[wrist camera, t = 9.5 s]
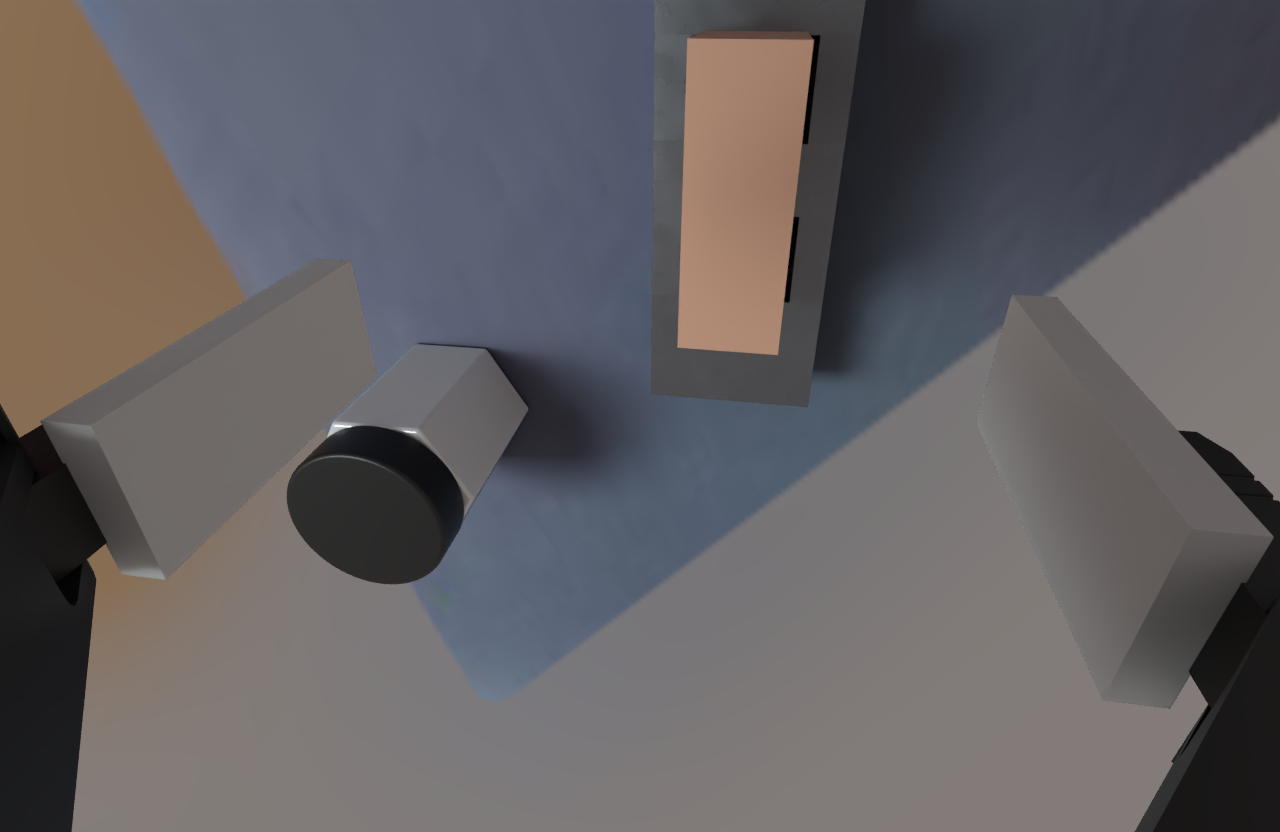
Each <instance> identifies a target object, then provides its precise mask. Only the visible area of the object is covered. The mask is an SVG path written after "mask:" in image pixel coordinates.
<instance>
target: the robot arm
mask: <svg viewBox="0 0 1280 832" xmlns="http://www.w3.org/2000/svg"><path fill="white" fill-rule="evenodd" d="M376 377H377V374H376V370H375V365H374V361H373V357H372V352H371V348H370V343H369V339H368V335H367V330H366V326H365V322H364V317H363V313H362V308H361V304H360V300H359V295H358V291H357V287H356V282H355V278H354V273H353V269H352V265H351V261H349V260H330V259H316V260H314V261H313V262H311V263H309V264H308V265H306V266H304V267H302V268H301V269H299V270H297V271H296V272H294V273H292V274H290V275H289V276H287V277H285V278H284V279H282V280H280V281H278V282H277V283H275V284H273V285H272V286H270V287H268V288H267V289H265V290H263V291H261V292H260V293H258V294H256V295H255V296H253V297H251V298H249V299H248V300H246V301H244V302H243V303H241V304H239V305H237V306H236V307H234V308H232V309H231V310H229V311H227V312H226V313H224V314H222V315H220V316H219V317H217V318H215V319H214V320H212V321H210V322H208V323H207V324H205V325H203V326H202V327H200V328H198V329H197V330H195V331H193V332H191V333H190V334H188V335H186V336H185V337H183V338H181V339H180V340H178V341H176V342H174V343H173V344H171V345H169V346H167V347H166V348H164V349H162V350H161V351H159V352H157V353H155V354H154V355H152V356H150V357H149V358H147V359H145V360H144V361H142V362H140V363H139V364H137V365H135V366H133V367H132V368H130V369H128V370H127V371H125V372H123V373H121V374H120V375H118V376H117V377H114V378H113V379H111V380H109V381H108V382H106V383H104V384H103V385H101V386H99V387H98V388H96V389H94V390H92V391H91V392H89V393H87V394H86V395H84V396H82V397H80V398H79V399H77V400H75V401H74V402H72V403H70V404H68V405H67V406H65V407H63V408H62V409H60V410H58V411H57V412H55V413H53V414H51V415H50V416H48V417H46V418H44V419H43V420H41V423H42V425H41V426H39V427H37V428H36V429H34V430H32V431H31V432H29V433H27V434H25V435H24V436H22V437H20V438H19V437H18V435H17V433H16V431H15V430H14V428H13V426H12V424H11V423H10V421H9V419H8V417H7V415H6V414H5V412H4V410H3V408H2V406H1V404H0V832H71V830H72V821H73V810H74V800H75V790H76V780H77V769H78V759H79V749H80V739H81V729H82V718H83V709H84V699H85V689H86V678H87V667H88V657H89V647H90V638H91V627H92V618H93V606H94V596H95V587H96V578H95V575H94V571H93V570H92V568H91V566H90V564H89V562H88V561H87V558H89V557H90V556H91V555H92V554H93V553H95V552H96V551H97V550H99V548H101V547H102V546H103V545H105V544H106V545H107V547H108V549H109V551H110V553H111V555H112V557H113V559H114V560H115V562H116V564H117V566H118V568H119V570H120V572H121V574H125V575H134V576H141V577H149V578H156V579H164V580H166V579H167V578H168V577H169V576H170V575H171V574H172V573H173V572H175V570H177V569H178V568H179V567H180V566H181V565H182V564H183V563H184V562H185V561H186V560H187V559H188V558H189V557H190V556H191V555H192V554H193V553H194V552H195V551H196V550H197V549H198V548H199V547H200V546H201V545H202V544H204V542H206V540H207V539H209V538H210V537H211V536H212V535H213V534H214V533H215V532H216V531H217V530H218V529H219V528H220V527H221V526H222V525H223V524H224V523H225V522H226V521H227V520H228V519H229V518H230V517H231V516H233V515H234V514H235V513H236V512H237V511H238V510H239V509H240V508H241V507H242V506H243V505H244V504H245V503H246V502H247V501H248V500H249V499H250V498H251V497H252V496H253V495H254V494H255V493H256V492H257V491H258V490H259V489H260V488H261V487H263V486H264V485H265V484H266V483H267V482H268V481H269V480H270V479H271V478H272V477H273V476H274V475H275V474H276V473H277V472H278V471H279V470H280V469H281V468H282V467H283V466H284V465H285V464H286V463H287V462H288V461H290V460H291V459H292V458H293V457H294V455H296V454H297V453H298V452H299V451H300V450H301V449H302V448H303V447H304V446H305V445H306V444H307V443H308V442H309V441H310V440H311V439H312V438H313V437H314V436H315V435H316V434H317V433H319V432H320V431H321V430H322V429H323V428H324V427H325V426H326V425H327V424H328V423H329V422H330V421H331V420H332V419H333V418H334V417H335V416H336V415H337V414H338V413H339V412H340V411H341V410H342V409H343V408H344V407H345V406H346V405H348V404H349V403H350V402H351V401H352V400H353V399H354V398H355V397H356V396H357V395H358V394H359V393H360V392H361V391H362V390H363V389H364V388H365V387H366V386H367V385H368V384H369V383H370V382H371V381H372V380H373V379H374V378H376ZM976 424H977V426H978V428H979V430H980V433H981V435H982V437H983V439H984V442H985V443H986V446H987V448H988V450H989V452H990V455H991V457H992V459H993V461H994V463H995V465H996V468H997V470H998V472H999V474H1000V476H1001V478H1002V481H1003V483H1004V485H1005V488H1006V490H1007V492H1008V494H1009V496H1010V498H1011V501H1012V503H1013V505H1014V507H1015V509H1016V512H1017V514H1018V516H1019V518H1020V520H1021V523H1022V525H1023V527H1024V529H1025V531H1026V533H1027V536H1028V538H1029V540H1030V542H1031V544H1032V547H1033V549H1034V551H1035V553H1036V555H1037V557H1038V560H1039V562H1040V564H1041V566H1042V569H1043V570H1044V573H1045V575H1046V577H1047V579H1048V581H1049V584H1050V586H1051V588H1052V590H1053V592H1054V594H1055V597H1056V599H1057V601H1058V604H1059V606H1060V608H1061V610H1062V612H1063V614H1064V617H1065V619H1066V621H1067V623H1068V625H1069V628H1070V630H1071V632H1072V634H1073V636H1074V639H1075V641H1076V643H1077V645H1078V647H1079V649H1080V652H1081V654H1082V656H1083V658H1084V660H1085V662H1086V665H1087V667H1088V669H1089V671H1090V674H1091V676H1092V678H1093V680H1094V682H1095V685H1096V687H1097V689H1098V691H1099V693H1100V695H1101V698H1102V700H1106V701H1114V702H1122V703H1130V704H1138V705H1145V706H1153V707H1161V708H1168V709H1170V708H1171V706H1172V705H1173V703H1174V701H1175V700H1176V698H1177V696H1178V695H1179V693H1180V691H1181V690H1182V688H1183V687H1184V685H1185V683H1186V682H1187V680H1188V678H1189V677H1190V675H1191V676H1192V678H1193V680H1194V681H1195V683H1196V685H1197V686H1198V688H1199V690H1200V691H1201V693H1202V695H1203V696H1204V698H1205V700H1206V701H1207V703H1208V706H1207V707H1206V709H1205V710H1204V712H1203V713H1202V715H1201V716H1200V718H1199V720H1198V721H1197V723H1196V724H1195V726H1194V727H1193V729H1192V730H1191V732H1190V734H1189V735H1188V736H1187V738H1186V740H1185V741H1184V743H1183V745H1182V746H1181V747H1180V749H1179V750H1178V752H1177V754H1176V755H1175V757H1174V758H1173V760H1172V762H1173V765H1172V767H1171V769H1170V770H1169V772H1168V774H1167V776H1166V777H1165V779H1164V781H1163V783H1162V785H1161V786H1160V788H1159V790H1158V791H1157V793H1156V795H1155V797H1154V799H1153V800H1152V802H1151V804H1150V806H1149V807H1148V809H1147V811H1146V813H1145V815H1144V816H1143V818H1142V820H1141V822H1140V823H1139V825H1138V827H1137V829H1136V831H1135V832H1280V502H1279V501H1276V500H1273V495H1272V494H1271V493H1270V492H1269V491H1268V490H1267V489H1266V487H1264V485H1263V484H1261V482H1260V481H1254V475H1253V474H1252V473H1251V472H1250V471H1249V470H1248V469H1247V468H1246V467H1245V466H1244V465H1243V464H1242V463H1241V462H1240V461H1239V460H1238V459H1237V458H1236V457H1235V456H1234V455H1233V454H1232V453H1231V452H1229V451H1227V450H1226V449H1224V448H1222V447H1221V446H1219V445H1217V444H1216V443H1214V442H1212V441H1211V440H1209V439H1207V438H1205V437H1204V436H1202V435H1201V434H1199V433H1197V432H1190V431H1177V429H1176V428H1174V426H1173V425H1172V424H1171V423H1170V422H1169V421H1168V419H1166V417H1165V416H1164V415H1163V414H1162V413H1161V412H1160V411H1159V410H1158V409H1157V407H1156V406H1155V405H1154V404H1153V403H1152V402H1151V401H1150V400H1149V399H1148V398H1147V396H1146V395H1145V394H1144V393H1143V392H1142V391H1141V390H1140V389H1139V387H1138V386H1137V385H1136V384H1135V383H1134V382H1133V381H1132V380H1131V379H1130V378H1129V376H1127V374H1126V373H1125V372H1124V371H1123V370H1122V369H1121V368H1120V366H1119V365H1118V364H1117V363H1116V362H1115V361H1114V360H1113V359H1112V358H1111V357H1110V355H1109V354H1108V353H1107V352H1106V351H1105V350H1104V349H1103V348H1102V347H1101V345H1100V344H1099V343H1098V342H1097V341H1096V340H1095V339H1094V338H1093V337H1092V336H1091V335H1090V334H1089V332H1088V331H1087V330H1086V329H1085V328H1084V327H1083V326H1082V325H1081V323H1080V322H1079V321H1078V320H1077V319H1076V318H1075V317H1074V316H1073V315H1072V313H1070V311H1069V310H1068V309H1067V308H1066V307H1065V306H1064V305H1063V304H1062V302H1061V301H1060V300H1059V299H1058V298H1057V297H1045V296H1026V295H1012V297H1011V300H1010V304H1009V307H1008V311H1007V314H1006V318H1005V321H1004V325H1003V328H1002V332H1001V335H1000V339H999V342H998V346H997V350H996V353H995V356H994V360H993V363H992V367H991V370H990V374H989V378H988V381H987V384H986V388H985V392H984V395H983V398H982V402H981V406H980V409H979V412H978V416H977V420H976Z"/></svg>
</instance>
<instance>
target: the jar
mask: <svg viewBox="0 0 1280 832" xmlns="http://www.w3.org/2000/svg"><path fill="white" fill-rule="evenodd" d="M527 412H528V407H527V405H526V404H525V403H524V401H523V400H522V398H521V397H520V396H519V394H518V393H517V391H516V390H515V389H514V387H513V386H512V384H511V383H510V382H509V380H508V379H507V377H506V376H505V375H504V373H503V372H502V370H501V369H500V368H499V366H498V365H497V363H496V362H495V360H494V359H493V358H492V356H491V355H490V353H489V352H488V351H487V350H486V349H482V348H467V347H453V346H438V345H423V344H415V345H413V346H412V347H411V348H410V349H409V350H408V351H407V352H406V353H405V354H404V355H403V356H402V357H401V358H400V359H399V360H398V361H397V362H396V363H394V364H393V365H392V366H391V367H390V368H389V369H388V370H387V371H386V372H385V373H384V374H383V375H382V376H381V377H380V378H379V379H378V380H377V381H376V382H375V383H373V384H372V385H371V386H370V387H369V388H368V389H367V390H366V391H365V392H364V393H363V394H362V395H361V396H360V397H359V398H358V399H357V400H356V401H355V402H354V403H352V404H351V405H350V406H349V407H348V408H347V409H346V410H345V411H344V412H343V413H342V414H341V415H340V416H339V417H338V418H337V419H336V420H335V421H334V422H333V423H332V425H331V428H330V431H329V433H328V436H327V439H326V440H325V441H324V442H323V443H321V445H319V446H318V447H317V448H316V449H315V450H314V451H313V452H312V453H311V454H310V455H309V456H308V457H307V458H306V459H305V460H304V461H303V462H302V463H301V464H300V465H299V466H298V467H297V468H296V470H295V471H294V472H293V474H292V476H291V478H290V480H289V484H288V488H287V504H288V510H289V513H290V516H291V519H292V521H293V523H294V525H295V527H296V529H297V530H298V532H299V533H300V535H301V536H302V538H303V539H304V540H305V542H306V543H307V544H308V545H309V546H310V547H311V548H312V549H313V550H314V551H315V552H316V553H317V554H318V555H319V556H321V557H322V558H323V559H324V560H326V561H327V562H329V563H330V564H331V565H333V566H335V567H336V568H338V569H340V570H341V571H343V572H345V573H347V574H350V575H352V576H354V577H357V578H360V579H363V580H366V581H370V582H375V583H381V584H402V583H409V582H412V581H416V580H418V579H421V578H423V577H425V576H426V575H428V574H429V573H431V572H432V571H433V570H434V569H435V568H436V567H437V566H438V565H439V563H440V562H441V560H442V558H443V557H444V555H445V553H446V552H447V550H448V548H449V547H450V545H451V543H452V542H453V540H454V538H455V537H456V535H457V533H458V532H459V530H460V528H461V525H462V522H463V521H464V519H465V517H466V516H467V514H468V512H469V511H470V509H471V507H472V506H473V504H474V502H475V501H476V499H477V497H478V496H479V494H480V492H481V491H482V489H483V487H484V486H485V484H486V482H487V481H488V479H489V477H490V476H491V474H492V473H493V471H494V469H495V468H496V466H497V464H498V463H499V461H500V459H501V458H502V456H503V454H504V452H505V451H506V449H507V447H508V445H509V444H510V442H511V440H512V438H513V437H514V435H515V433H516V431H517V430H518V428H519V426H520V424H521V422H522V421H523V419H524V417H525V415H526V414H527Z"/></svg>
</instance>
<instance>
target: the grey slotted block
mask: <svg viewBox="0 0 1280 832" xmlns="http://www.w3.org/2000/svg"><path fill="white" fill-rule="evenodd" d="M865 1H866V0H655V46H654V153H653V260H652V367H651V394H657V395H669V396H681V397H693V398H705V399H717V400H729V401H741V402H753V403H765V404H777V405H789V406H801V407H808V402H809V395H810V388H811V381H812V374H813V367H814V360H815V352H816V345H817V338H818V331H819V324H820V317H821V310H822V303H823V296H824V289H825V282H826V275H827V268H828V261H829V254H830V247H831V240H832V233H833V226H834V219H835V212H836V205H837V198H838V191H839V184H840V177H841V170H842V163H843V156H844V149H845V142H846V135H847V128H848V121H849V114H850V107H851V100H852V93H853V86H854V78H855V71H856V64H857V57H858V50H859V43H860V36H861V29H862V22H863V15H864V8H865ZM703 31H786V32H808V33H809V34H810V35H816V37H815V46H814V54H813V63H812V72H811V81H810V90H809V98H808V107H807V116H806V125H805V129H804V131H803V139H802V148H801V157H800V166H799V174H798V183H797V192H796V201H795V209H794V217H795V222H794V231H793V240H792V249H791V257H790V266H789V274H787V279H786V288H785V297H784V306H783V314H782V323H781V332H780V341H779V349H778V355H770V354H756V353H743V352H730V351H716V350H703V349H690V348H677V345H678V314H679V283H680V252H681V221H682V190H683V159H684V128H685V97H686V66H687V38H690V37H692V36H694V35H696V34H698V33H701V32H703Z"/></svg>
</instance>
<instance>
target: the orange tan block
mask: <svg viewBox="0 0 1280 832" xmlns="http://www.w3.org/2000/svg"><path fill="white" fill-rule="evenodd" d="M813 43H814V39H813V38H812V37H811V36H810V34H809V33H808V32H786V31H703V32H701V33H698V34H696V35H694V36H692V37H690V38H687V66H686V97H685V128H684V159H683V190H682V221H681V252H680V283H679V314H678V345H677V348H690V349H703V350H716V351H730V352H743V353H756V354H770V355H778V349H779V341H780V332H781V323H782V314H783V306H784V297H785V288H786V279H787V271H788V262H789V253H790V244H791V236H792V227H793V218H794V209H795V201H796V192H797V183H798V174H799V166H800V157H801V148H802V139H803V131H804V122H805V113H806V104H807V95H808V87H809V78H810V69H811V60H812V52H813Z"/></svg>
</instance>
